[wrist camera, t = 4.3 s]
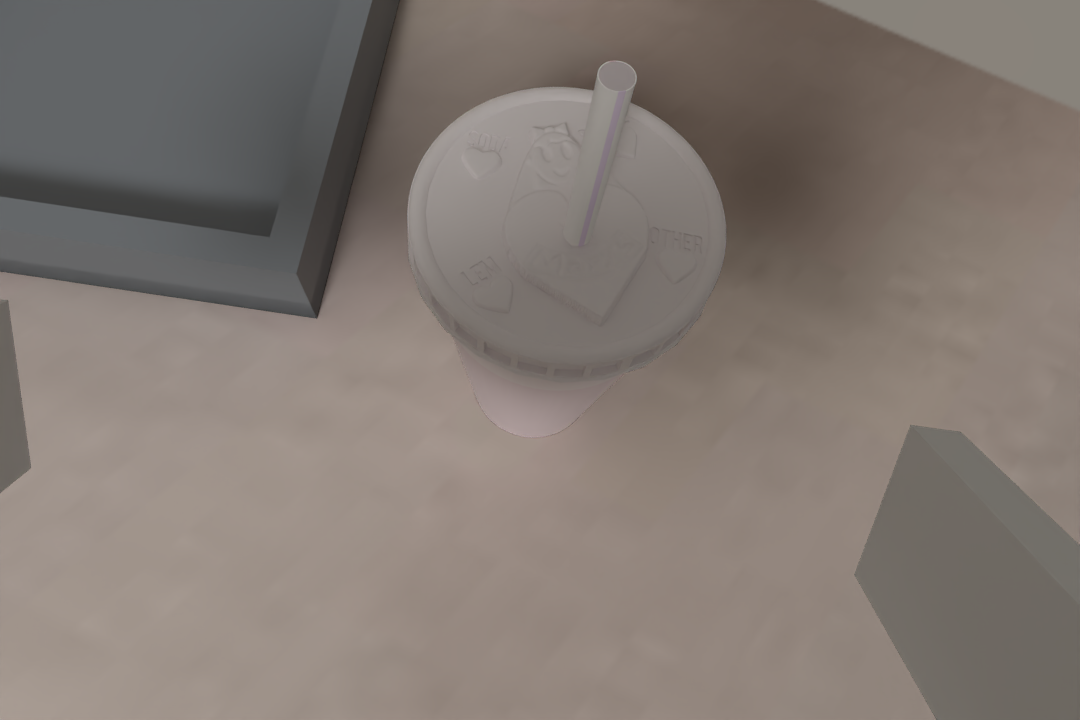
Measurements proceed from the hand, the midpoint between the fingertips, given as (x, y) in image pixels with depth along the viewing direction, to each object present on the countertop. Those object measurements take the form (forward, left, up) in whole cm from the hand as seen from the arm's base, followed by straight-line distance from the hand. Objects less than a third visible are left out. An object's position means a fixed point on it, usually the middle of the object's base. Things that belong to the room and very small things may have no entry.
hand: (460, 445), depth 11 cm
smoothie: (-1, -5, -11) cm, 13 cm away
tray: (+14, -14, -11) cm, 23 cm away
